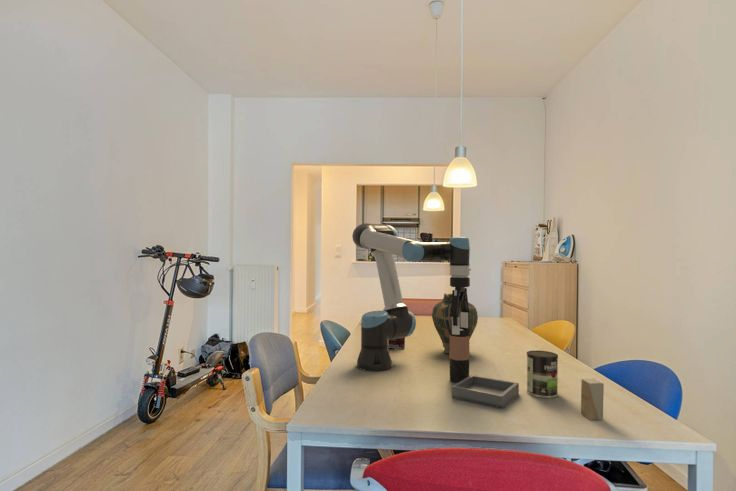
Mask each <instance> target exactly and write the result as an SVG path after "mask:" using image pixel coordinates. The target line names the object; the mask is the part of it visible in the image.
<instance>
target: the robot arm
mask: <svg viewBox="0 0 736 491" xmlns="http://www.w3.org/2000/svg"><path fill="white" fill-rule="evenodd" d="M351 236H352V241H353V243H354V245H356V246H357V247H358V248H361V249H365V250H370V253H371V255H372V256H373V257H374V258H375V264H376V267H377V268H376V269H377V274H378V278H379V283H380V289H381V292H382V293H381V294H382V298H383V302H384V307H383V309H382V310H372V311H368V312H365V313H364V314H363V315H362V316H361V319H360V320H361V323H360V326H361V328H360V332H361V334H360V335H361V337H360V340H361V341H360V343H361V344H360V352H359V355H358V357H357V361H356V367H357V366H358V367H359V368H358V367H357V368H358V369H360V368H361V370H363V369H365V370H364V371H369V370H374V372H375V371H376V372H377V371H378V372H379V370H381V371H386V370H390V369H391V368H392V367H393V361H392V358H391V354H390V351H389V350H390V349H388V340H392V339H398V338H405V339H406V338H408V337H410V336H411V335H412V334H413V333H414V331H415V329H416V326H417V320H416V317H415V314H414V313H413V312H411V311H410V310H409V309H408V308H409V307H408V305H407V304H405V303H404V301H403V296H402V291H401V290H402V289H401V286H400V281H399V276H398V272H397V266H396V262H395V256H398V257H401V258H404V260H405V261H407V262H411V263H416V262H449V276H451V277H450V278H449V286H450V287H451V288H454V289H452V293H451V294H452V303H451V312H450V315H449V316H450V317H452V334H456V335H459V334H460V319H459V311H460V308H461V327H464V328H468V313H467V312H470V310H469V305H468V302H469V298H468V288H470V286H471V285H470V284H471V283H470V282H471V280H470V279H471V278H470V277H469V276H470V274H471V273H470V272H471V271H472V269H471V267H470V253H471V252H470V251H471V250H470V249H471V247H470V240H469V238H468V237H466V236H452V237H450V238H449V241H448V242H424V241H423V242H422V241H421V242H420V241H416V240H412V239H408V238H404V237H399V234H398V232H397V230H396V229H395V227H393V226H392V225H390V224H384V223H366V222H365V223H361V224H359V225H357V226H356V227H355V228H354V229H353V232H352V235H351Z"/></svg>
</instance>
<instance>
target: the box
mask: <svg viewBox="0 0 736 491" xmlns="http://www.w3.org/2000/svg"><path fill="white" fill-rule="evenodd" d="M604 385H605V383H603V382H601V381H600V380H597V379H596V378H581V388H580V389H581V392H580V393H581V394H580V396H581V398H580V415H582V416H583V417H585V418H586V419H588V420H590V421H601V420H602V421H603V420H604V387H605V386H604Z"/></svg>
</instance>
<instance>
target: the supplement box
mask: <svg viewBox="0 0 736 491" xmlns="http://www.w3.org/2000/svg"><path fill="white" fill-rule="evenodd" d="M405 343H406V337H405V338H398V339H392V340H388V348H395V350H405V348H406V347H405V346H406V344H405Z"/></svg>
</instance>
